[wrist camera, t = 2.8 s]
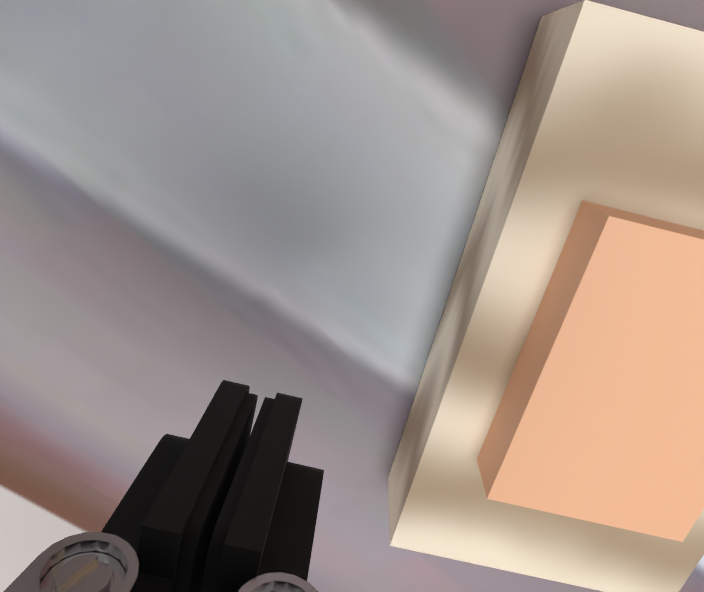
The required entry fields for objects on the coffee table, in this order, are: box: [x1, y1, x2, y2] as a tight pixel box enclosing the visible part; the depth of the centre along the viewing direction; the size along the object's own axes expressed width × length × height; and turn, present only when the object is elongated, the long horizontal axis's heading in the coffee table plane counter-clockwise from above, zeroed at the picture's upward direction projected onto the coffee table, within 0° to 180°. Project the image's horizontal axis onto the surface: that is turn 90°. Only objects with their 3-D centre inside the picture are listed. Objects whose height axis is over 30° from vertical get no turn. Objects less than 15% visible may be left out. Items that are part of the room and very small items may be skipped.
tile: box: [477, 200, 704, 542], centre depth 17 cm, size 10×7×2 cm
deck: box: [388, 0, 704, 592], centre depth 20 cm, size 20×12×4 cm, turn 167°
